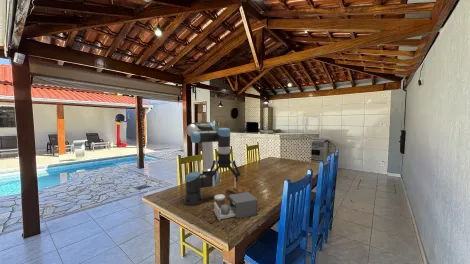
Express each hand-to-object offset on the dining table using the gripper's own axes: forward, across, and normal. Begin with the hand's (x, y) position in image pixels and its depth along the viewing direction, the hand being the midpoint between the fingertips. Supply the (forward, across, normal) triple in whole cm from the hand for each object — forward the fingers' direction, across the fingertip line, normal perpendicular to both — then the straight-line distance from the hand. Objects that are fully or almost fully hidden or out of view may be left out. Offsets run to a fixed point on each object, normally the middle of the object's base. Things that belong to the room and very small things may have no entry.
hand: (224, 186), depth 120 cm
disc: (+18, -7, +24) cm, 31 cm away
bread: (+25, +6, +38) cm, 46 cm away
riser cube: (+24, -7, +24) cm, 35 cm away
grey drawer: (+24, 0, +11) cm, 26 cm away
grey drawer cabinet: (+24, +11, +16) cm, 31 cm away
